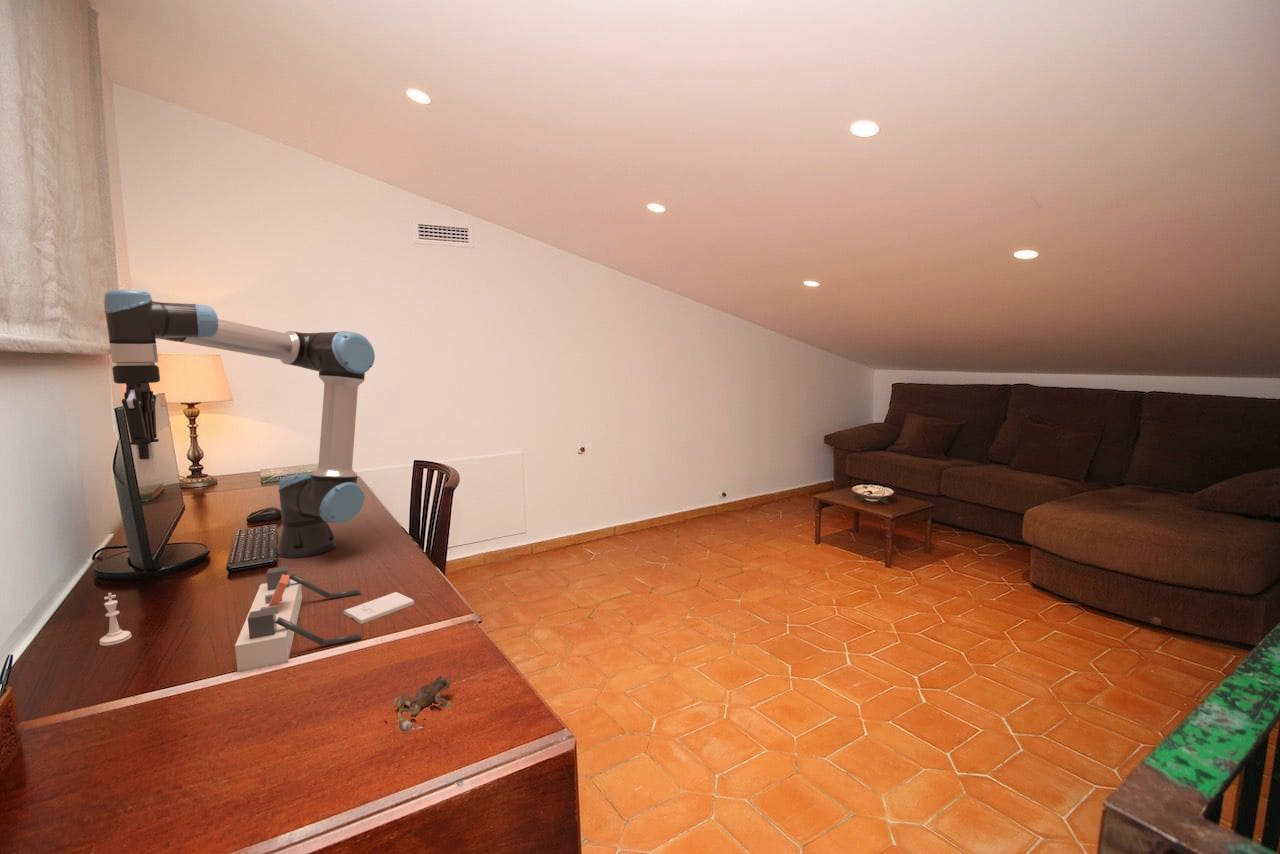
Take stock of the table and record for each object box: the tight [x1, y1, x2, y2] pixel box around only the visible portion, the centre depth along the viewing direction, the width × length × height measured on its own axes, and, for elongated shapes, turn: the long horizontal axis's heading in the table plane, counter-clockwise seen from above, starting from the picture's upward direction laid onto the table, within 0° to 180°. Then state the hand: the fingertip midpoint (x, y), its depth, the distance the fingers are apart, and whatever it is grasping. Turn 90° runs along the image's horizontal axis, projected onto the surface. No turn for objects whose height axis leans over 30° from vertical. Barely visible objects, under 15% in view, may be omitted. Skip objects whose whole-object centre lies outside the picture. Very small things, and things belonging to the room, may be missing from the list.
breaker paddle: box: [269, 574, 290, 606], centre depth 122 cm, size 2×5×6 cm, turn 27°
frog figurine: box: [393, 676, 452, 732], centre depth 95 cm, size 12×12×4 cm
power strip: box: [234, 565, 362, 672], centre depth 125 cm, size 21×32×9 cm, turn 26°
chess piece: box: [99, 592, 132, 646], centre depth 118 cm, size 5×5×10 cm
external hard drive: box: [342, 591, 415, 625], centre depth 132 cm, size 2×8×12 cm
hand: (148, 473), depth 126 cm, fingers closed
